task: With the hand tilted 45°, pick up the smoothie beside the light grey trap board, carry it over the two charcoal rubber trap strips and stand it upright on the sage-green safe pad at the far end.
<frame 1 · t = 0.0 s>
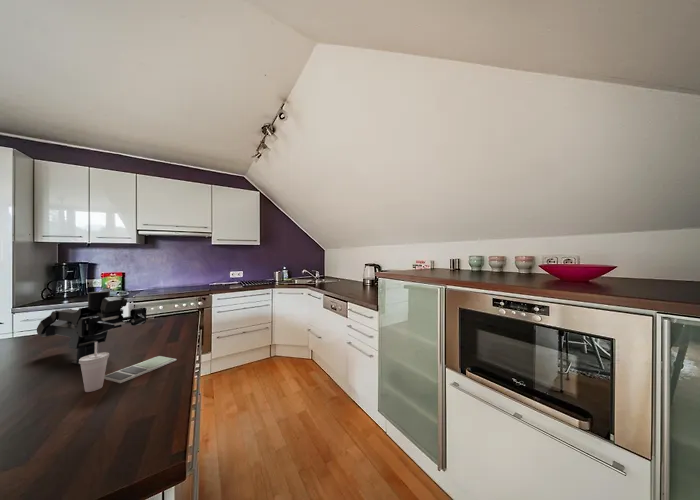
hand: (130, 322, 85), 17 cm above the countertop, tool horizontal, fingers open, 9 cm apart
smoothie: (93, 389, 73), on the countertop
trap board: (134, 371, 84), on the countertop
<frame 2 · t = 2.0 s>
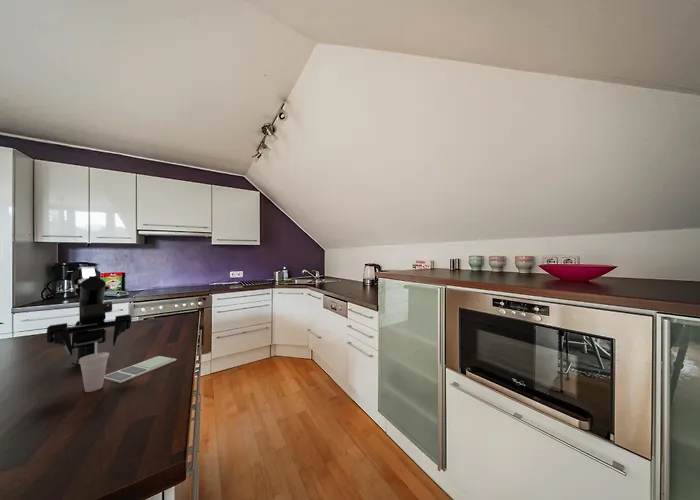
hand: (93, 349, 76), 11 cm above the countertop, tool tilted 45°, fingers open, 9 cm apart
nothing on the countertop moved.
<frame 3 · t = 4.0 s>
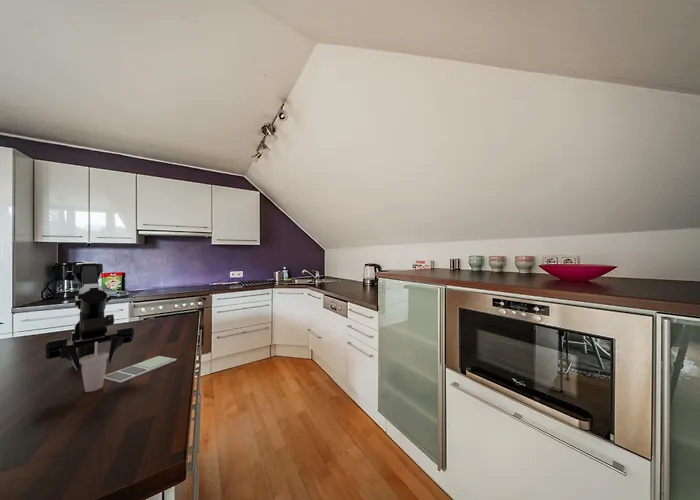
hand: (94, 366, 72), 7 cm above the countertop, tool tilted 45°, fingers closed on smoothie, 6 cm apart
smoothie: (93, 389, 73), on the countertop, touching gripper
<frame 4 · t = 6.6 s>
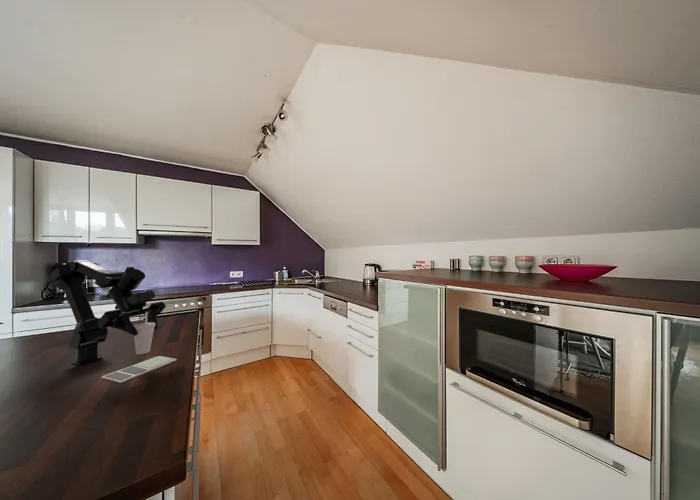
hand: (146, 331, 85), 13 cm above the countertop, tool tilted 45°, fingers closed on smoothie, 6 cm apart
smoothie: (142, 352, 85), point 6 cm above the countertop, touching gripper
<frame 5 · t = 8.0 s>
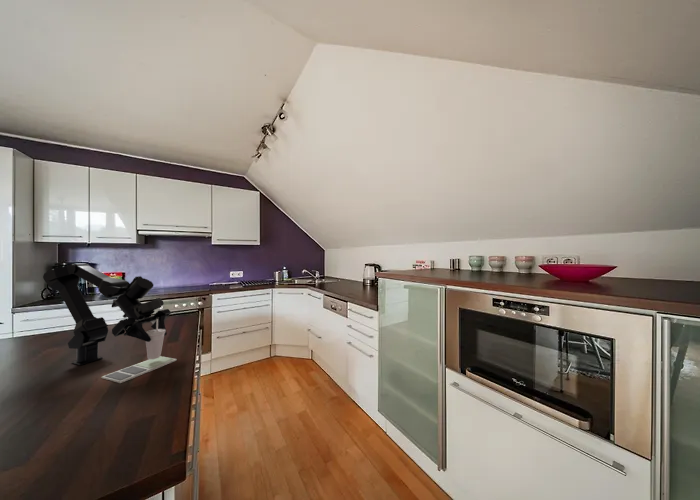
hand: (158, 337, 90), 10 cm above the countertop, tool tilted 45°, fingers closed on smoothie, 6 cm apart
smoothie: (154, 357, 90), point 2 cm above the countertop, touching gripper
when the fingers open (9 cm above the countertop, at t = 9.0 s): smoothie drops 1 cm, resting on trap board.
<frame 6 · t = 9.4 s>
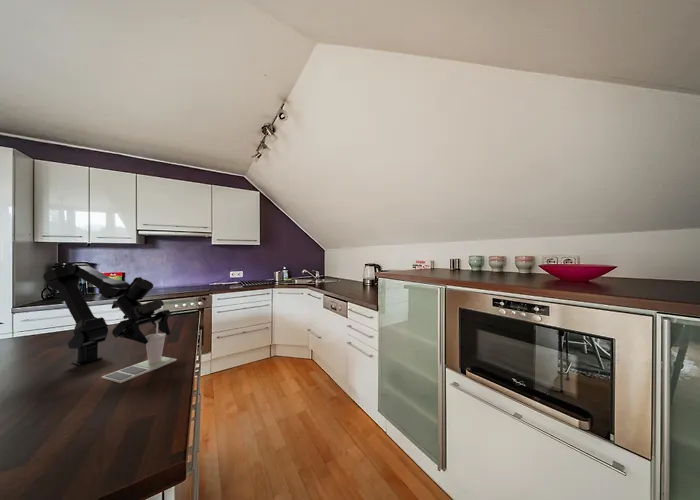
hand: (158, 338, 90), 9 cm above the countertop, tool tilted 45°, fingers open, 9 cm apart
smoothie: (154, 362, 90), point 1 cm above the countertop, touching trap board
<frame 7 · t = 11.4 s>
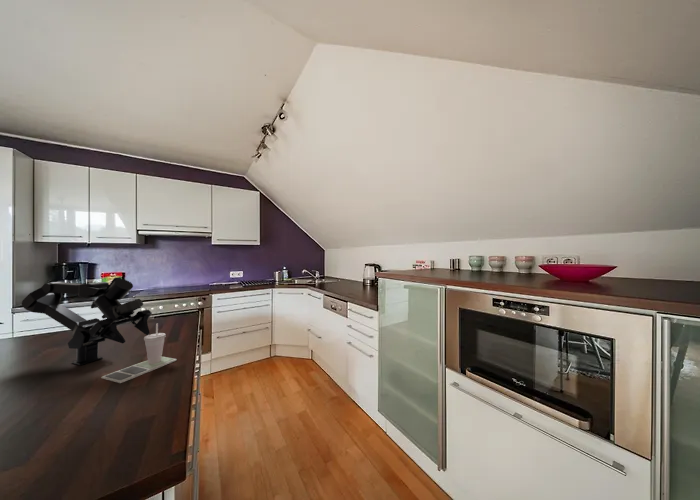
hand: (137, 338, 91), 9 cm above the countertop, tool tilted 45°, fingers open, 9 cm apart
nothing on the countertop moved.
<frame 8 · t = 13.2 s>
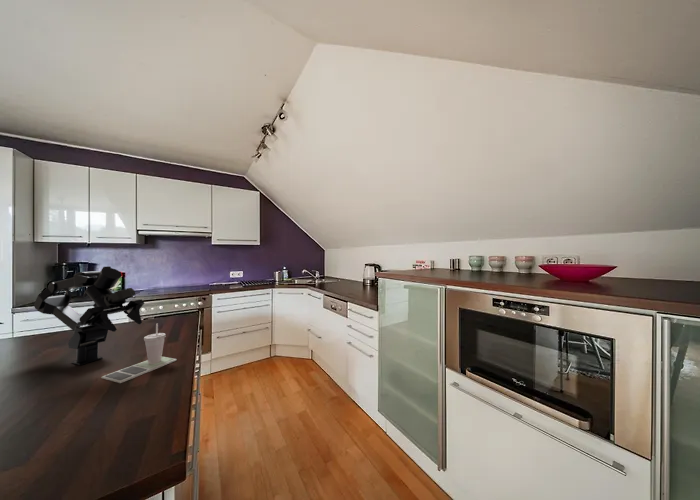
hand: (128, 326, 90), 14 cm above the countertop, tool tilted 45°, fingers open, 9 cm apart
nothing on the countertop moved.
at the end: smoothie 0.6 cm from the target spot, point 0.5 cm above the countertop; smoothie tilted 0°; the gripper is holding nothing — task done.
